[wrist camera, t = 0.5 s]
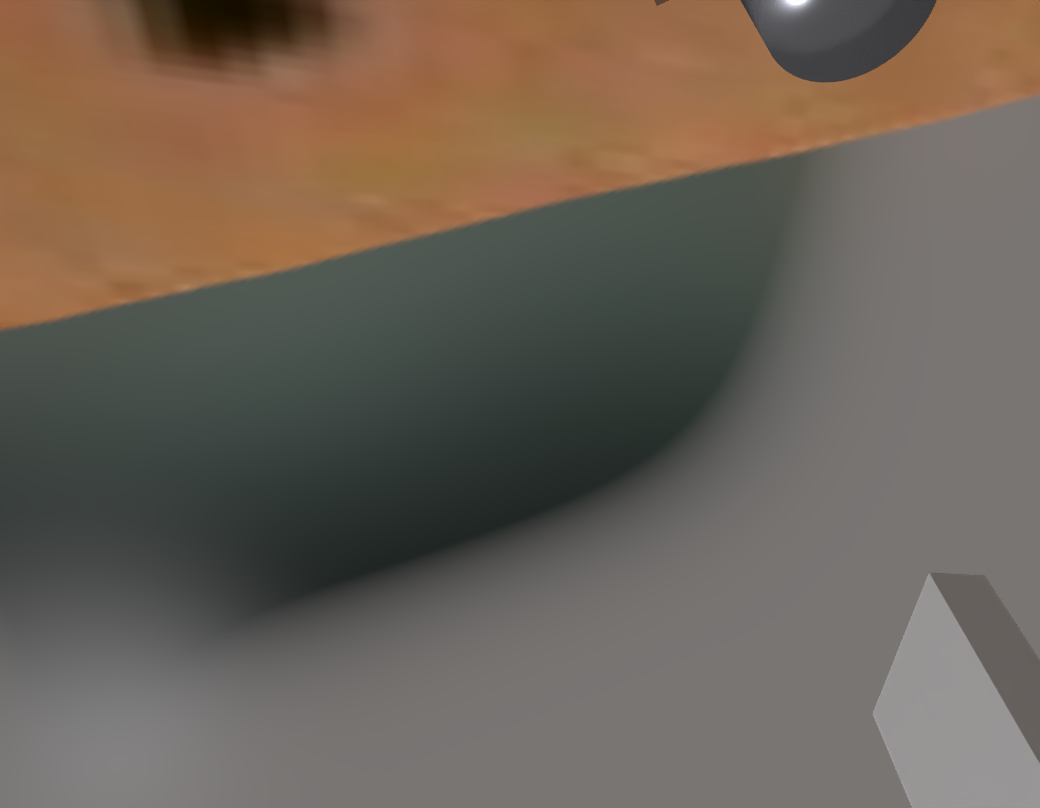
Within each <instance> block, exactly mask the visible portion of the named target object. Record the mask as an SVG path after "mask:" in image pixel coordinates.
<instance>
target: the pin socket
mask: <svg viewBox="0 0 1040 808" xmlns="http://www.w3.org/2000/svg"><path fill="white" fill-rule="evenodd" d="M666 1H668V0H655V2H656V5H657V6H658V5H660V4H662V3H664V2H666Z"/></svg>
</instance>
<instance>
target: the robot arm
mask: <svg viewBox="0 0 1040 808" xmlns="http://www.w3.org/2000/svg"><path fill="white" fill-rule="evenodd" d="M873 716H874V719H875V721H876V723H877V726H878V728H879V731H880V733H881V735H882V738H883V740H884V742H885V744H886V747H887V750H888V752H889V754H890V756H891V759H892V761H893V764H894V766H895V768H896V771H897V773H898V776H899V778H900V780H901V783H902V785H903V787H904V790H905V792H906V795H907V797H908V799H909V801H910V804H911V806H912V808H1040V660H1039V658H1038V657H1037V655H1036V654H1035V652H1034V651H1033V649H1032V647H1031V646H1030V644H1029V643H1028V641H1027V640H1026V638H1025V637H1024V635H1023V634H1022V632H1021V631H1020V629H1019V628H1018V626H1017V624H1016V623H1015V621H1014V620H1013V618H1012V617H1011V615H1010V614H1009V612H1008V611H1007V609H1006V607H1005V606H1004V605H1003V603H1002V601H1001V600H1000V598H999V597H998V595H997V594H996V592H995V591H994V589H993V588H992V586H991V585H990V583H989V581H988V580H987V578H986V577H985V576H984V575H963V574H945V573H929V574H928V577H927V579H926V582H925V584H924V587H923V590H922V592H921V594H920V597H919V599H918V602H917V604H916V607H915V609H914V612H913V614H912V617H911V619H910V622H909V624H908V627H907V629H906V632H905V634H904V637H903V639H902V642H901V644H900V647H899V649H898V652H897V654H896V657H895V659H894V662H893V664H892V667H891V669H890V672H889V674H888V676H887V679H886V681H885V684H884V687H883V689H882V692H881V694H880V697H879V699H878V701H877V704H876V707H875V709H874V711H873Z"/></svg>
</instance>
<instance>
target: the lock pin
mask: <svg viewBox="0 0 1040 808" xmlns="http://www.w3.org/2000/svg"><path fill="white" fill-rule="evenodd" d="M741 2H742V4H743V5H744V7H745V9H746V11H747V12H748V14H749V16H750V18H751V20H752V21H753V23H754V25H755V27H756V28H757V30H758V32H759V34H760V35H761V37H762V39H763V41H764V43H765V44H766V46H767V48H768V50H769V51H770V53H771V55H772V57H773V58H774V59H775V61H776V62H777V63H778V64H779V65H780V66H781V67H782V68H783V69H784V70H786V71H787V72H789V73H791V74H792V75H794V76H796V77H799V78H801V79H804V80H809V81H814V82H836V81H843V80H847V79H851V78H854V77H857V76H860V75H862V74H865V73H867V72H869V71H871V70H873V69H875V68H877V67H879V66H880V65H882V64H884V63H885V62H887V61H888V60H889V59H891V58H892V57H893V56H895V55H896V54H897V53H899V52H900V51H901V50H902V49H903V48H904V47H905V46H906V45H907V44H908V43H909V42H910V41H911V40H912V39H913V38H914V37H915V35H916V34H917V33H918V32H919V30H920V29H921V28H922V26H923V25H924V23H925V22H926V20H927V18H928V17H929V15H930V13H931V11H932V9H933V7H934V5H935V3H936V0H741Z"/></svg>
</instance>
